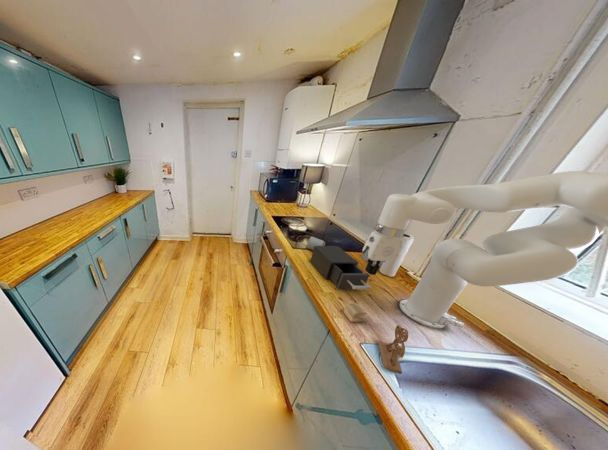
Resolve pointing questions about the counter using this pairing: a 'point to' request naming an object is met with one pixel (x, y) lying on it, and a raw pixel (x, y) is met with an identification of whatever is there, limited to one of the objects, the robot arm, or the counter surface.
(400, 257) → the paper towel roll
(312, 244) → the ceramic mug
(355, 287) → the black pull-out drawer
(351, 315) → the block
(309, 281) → the counter surface
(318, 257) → the black drawer cabinet housing
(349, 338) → the counter surface
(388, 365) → the brown irregular upright piece
